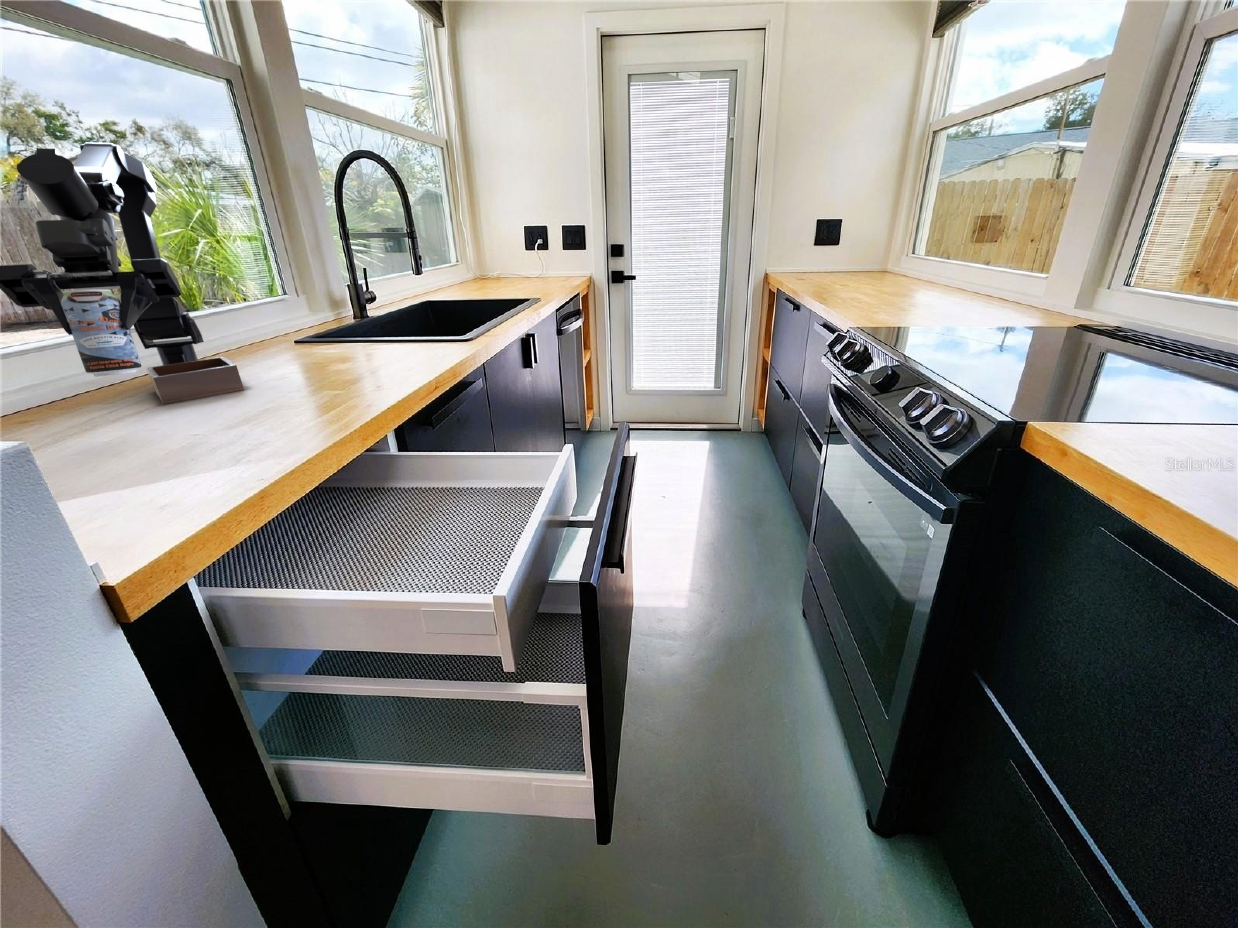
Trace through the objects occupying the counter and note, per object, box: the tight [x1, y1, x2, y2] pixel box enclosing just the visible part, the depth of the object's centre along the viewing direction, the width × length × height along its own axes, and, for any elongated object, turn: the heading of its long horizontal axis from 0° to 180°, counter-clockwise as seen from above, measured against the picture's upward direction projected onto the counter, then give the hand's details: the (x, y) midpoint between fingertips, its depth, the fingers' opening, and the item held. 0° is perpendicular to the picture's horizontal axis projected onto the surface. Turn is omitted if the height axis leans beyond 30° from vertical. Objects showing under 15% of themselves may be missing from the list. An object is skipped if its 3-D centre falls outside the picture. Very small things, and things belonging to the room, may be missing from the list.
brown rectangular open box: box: [146, 356, 245, 405], centre depth 96 cm, size 12×12×4 cm
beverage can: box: [61, 289, 142, 377], centre depth 75 cm, size 6×7×12 cm
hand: (97, 330), depth 74 cm, fingers closed on beverage can, 6 cm apart
